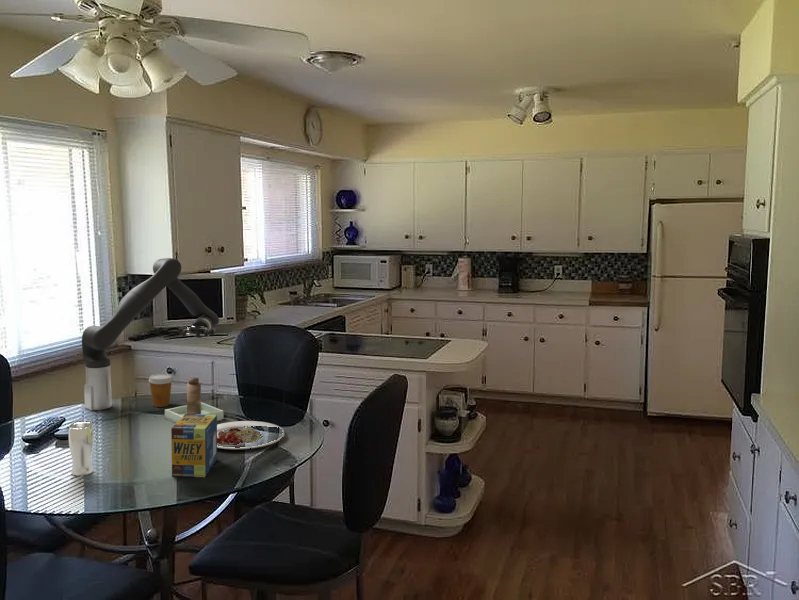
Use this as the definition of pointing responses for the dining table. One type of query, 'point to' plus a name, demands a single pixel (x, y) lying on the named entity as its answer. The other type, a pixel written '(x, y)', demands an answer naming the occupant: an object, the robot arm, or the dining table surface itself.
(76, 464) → the beer glass
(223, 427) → the plated food
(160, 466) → the dining table surface
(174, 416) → the bin
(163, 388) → the disposable coffee cup
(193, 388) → the pepper mill
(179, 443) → the protein box
